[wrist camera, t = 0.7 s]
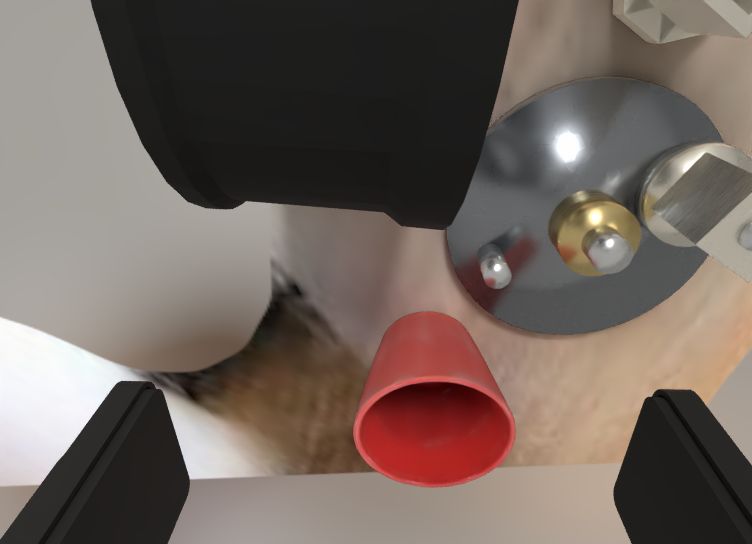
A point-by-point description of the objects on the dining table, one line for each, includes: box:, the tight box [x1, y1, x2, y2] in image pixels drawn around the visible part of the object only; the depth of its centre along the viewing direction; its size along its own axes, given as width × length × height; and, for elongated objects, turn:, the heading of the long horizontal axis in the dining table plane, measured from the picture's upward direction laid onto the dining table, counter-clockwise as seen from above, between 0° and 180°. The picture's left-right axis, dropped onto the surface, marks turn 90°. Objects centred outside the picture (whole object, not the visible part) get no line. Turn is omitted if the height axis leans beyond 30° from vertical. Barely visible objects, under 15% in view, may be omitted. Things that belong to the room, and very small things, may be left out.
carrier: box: [446, 76, 752, 334], centre depth 31 cm, size 19×19×8 cm
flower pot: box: [353, 312, 516, 487], centre depth 37 cm, size 11×11×10 cm
